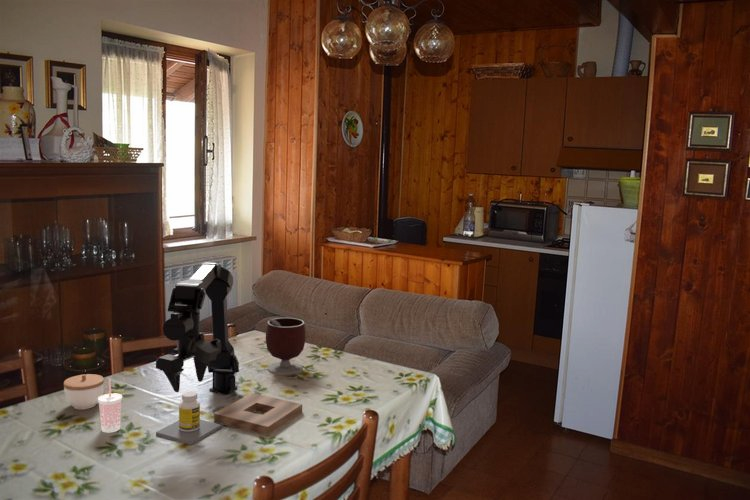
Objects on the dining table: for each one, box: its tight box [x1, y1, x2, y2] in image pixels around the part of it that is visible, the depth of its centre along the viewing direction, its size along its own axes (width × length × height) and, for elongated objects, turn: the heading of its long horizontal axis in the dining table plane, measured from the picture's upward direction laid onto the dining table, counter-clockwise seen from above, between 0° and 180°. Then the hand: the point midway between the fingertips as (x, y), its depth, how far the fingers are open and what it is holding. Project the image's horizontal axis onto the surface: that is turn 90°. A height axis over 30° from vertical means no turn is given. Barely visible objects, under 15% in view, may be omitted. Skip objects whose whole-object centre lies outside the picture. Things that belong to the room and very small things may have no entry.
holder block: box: [213, 392, 303, 436], centre depth 180 cm, size 18×18×2 cm
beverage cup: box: [97, 378, 123, 434], centre depth 168 cm, size 6×6×14 cm
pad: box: [155, 419, 222, 446], centre depth 170 cm, size 12×12×1 cm
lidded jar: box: [63, 373, 105, 410], centre depth 183 cm, size 11×11×9 cm
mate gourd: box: [265, 317, 306, 376], centre depth 220 cm, size 16×14×20 cm
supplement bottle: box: [178, 390, 201, 432], centre depth 169 cm, size 5×5×10 cm
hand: (188, 386), depth 168 cm, fingers open, 9 cm apart
